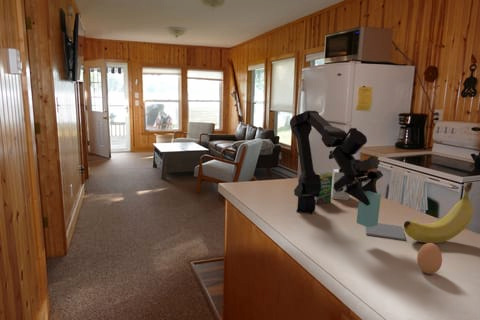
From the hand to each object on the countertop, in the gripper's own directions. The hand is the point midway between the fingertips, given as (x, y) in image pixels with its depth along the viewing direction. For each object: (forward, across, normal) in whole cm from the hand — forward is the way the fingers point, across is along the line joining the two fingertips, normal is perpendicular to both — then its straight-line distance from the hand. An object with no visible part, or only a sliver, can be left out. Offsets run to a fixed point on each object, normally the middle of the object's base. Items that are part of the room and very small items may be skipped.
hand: (373, 203), depth 105 cm
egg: (+23, -3, -4) cm, 24 cm away
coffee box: (-17, +20, +36) cm, 45 cm away
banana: (+17, +20, +2) cm, 27 cm away
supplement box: (-18, +34, +37) cm, 54 cm away
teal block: (+4, 0, +6) cm, 7 cm away
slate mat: (+7, +14, +12) cm, 20 cm away
